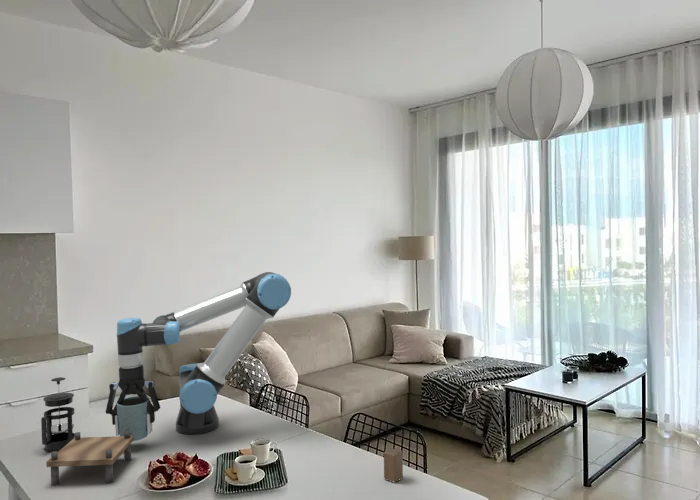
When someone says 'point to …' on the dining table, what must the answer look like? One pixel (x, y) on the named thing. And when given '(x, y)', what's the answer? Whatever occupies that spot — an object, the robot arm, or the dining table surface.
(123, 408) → the teal plant pot
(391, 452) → the wooden block
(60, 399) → the french press
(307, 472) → the dining table surface
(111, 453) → the wooden board with feet
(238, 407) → the dining table surface
